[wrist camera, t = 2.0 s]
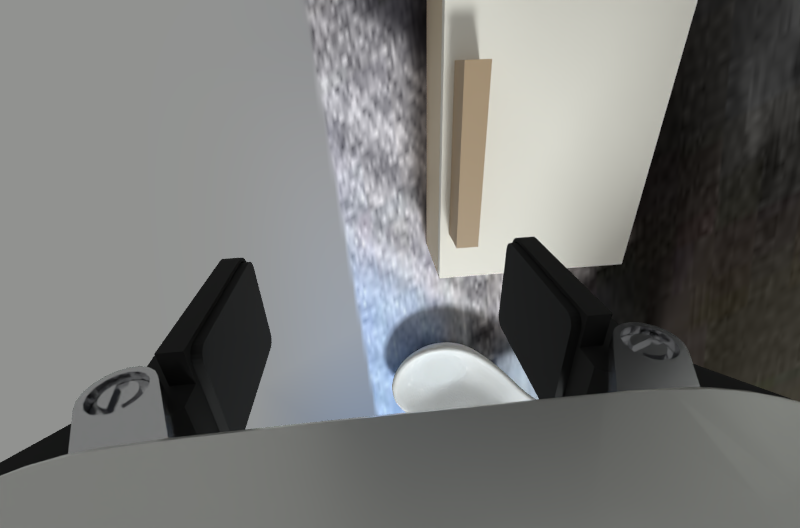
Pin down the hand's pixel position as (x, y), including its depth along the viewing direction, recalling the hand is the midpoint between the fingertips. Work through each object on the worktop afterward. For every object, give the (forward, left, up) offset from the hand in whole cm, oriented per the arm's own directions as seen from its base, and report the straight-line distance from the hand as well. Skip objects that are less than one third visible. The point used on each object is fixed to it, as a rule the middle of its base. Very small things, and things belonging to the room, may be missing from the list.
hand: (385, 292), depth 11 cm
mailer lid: (-13, 0, -18) cm, 22 cm away
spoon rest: (-12, +28, -24) cm, 39 cm away
